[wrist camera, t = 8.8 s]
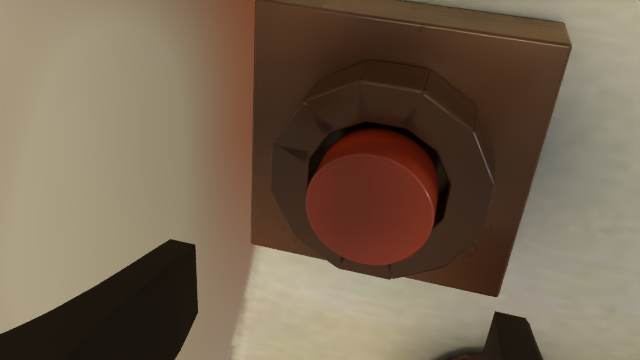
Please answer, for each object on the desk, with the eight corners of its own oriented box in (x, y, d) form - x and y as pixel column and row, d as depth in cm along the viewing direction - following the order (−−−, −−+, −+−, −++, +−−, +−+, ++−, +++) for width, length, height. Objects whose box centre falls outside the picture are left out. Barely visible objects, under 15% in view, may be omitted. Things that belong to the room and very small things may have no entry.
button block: (565, 22, 18) (581, 67, 15) (498, 260, 23) (498, 335, 19) (277, -18, 20) (231, 14, 16) (268, 212, 24) (231, 274, 21)
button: (450, 139, 17) (445, 168, 16) (428, 242, 19) (422, 278, 17) (324, 117, 18) (308, 143, 16) (315, 219, 20) (300, 251, 18)
